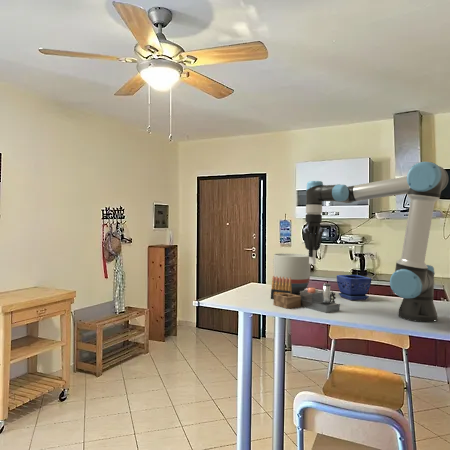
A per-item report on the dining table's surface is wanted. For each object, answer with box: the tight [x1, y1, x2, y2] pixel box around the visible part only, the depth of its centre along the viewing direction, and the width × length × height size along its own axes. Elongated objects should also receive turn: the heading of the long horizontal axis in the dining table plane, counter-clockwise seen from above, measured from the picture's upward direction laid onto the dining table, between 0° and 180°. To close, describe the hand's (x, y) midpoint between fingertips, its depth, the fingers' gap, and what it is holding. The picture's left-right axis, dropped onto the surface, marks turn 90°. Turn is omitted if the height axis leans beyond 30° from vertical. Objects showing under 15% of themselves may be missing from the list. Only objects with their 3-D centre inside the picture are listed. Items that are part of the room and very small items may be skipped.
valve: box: [316, 288, 337, 303], centre depth 199 cm, size 7×7×12 cm
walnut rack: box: [272, 293, 301, 310], centre depth 191 cm, size 9×9×5 cm
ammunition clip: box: [270, 275, 292, 300], centre depth 206 cm, size 11×2×12 cm, turn 65°
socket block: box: [299, 289, 341, 314], centre depth 188 cm, size 18×9×7 cm, turn 35°
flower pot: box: [336, 274, 372, 301], centre depth 214 cm, size 13×13×12 cm
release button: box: [307, 286, 317, 293], centre depth 191 cm, size 4×4×4 cm
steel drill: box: [322, 282, 331, 305], centre depth 184 cm, size 3×3×12 cm
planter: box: [273, 252, 312, 295], centre depth 225 cm, size 20×20×21 cm
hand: (312, 263), depth 191 cm, fingers closed
